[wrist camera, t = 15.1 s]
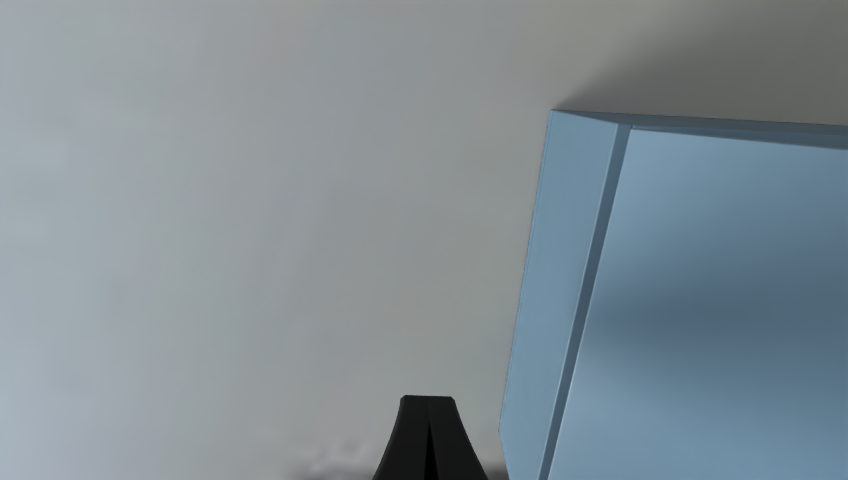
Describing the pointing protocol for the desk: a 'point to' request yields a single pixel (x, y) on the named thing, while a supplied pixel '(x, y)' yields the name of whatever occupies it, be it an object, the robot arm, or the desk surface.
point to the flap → (716, 317)
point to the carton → (583, 260)
